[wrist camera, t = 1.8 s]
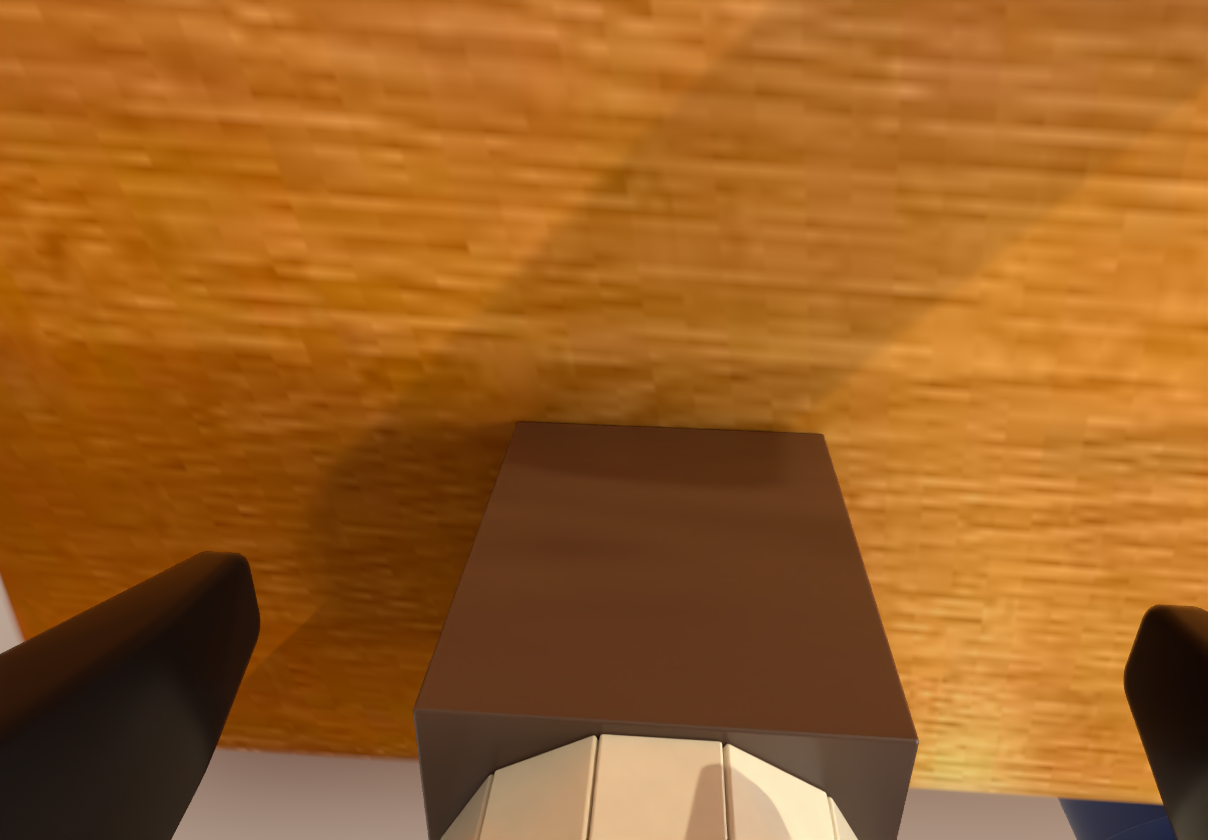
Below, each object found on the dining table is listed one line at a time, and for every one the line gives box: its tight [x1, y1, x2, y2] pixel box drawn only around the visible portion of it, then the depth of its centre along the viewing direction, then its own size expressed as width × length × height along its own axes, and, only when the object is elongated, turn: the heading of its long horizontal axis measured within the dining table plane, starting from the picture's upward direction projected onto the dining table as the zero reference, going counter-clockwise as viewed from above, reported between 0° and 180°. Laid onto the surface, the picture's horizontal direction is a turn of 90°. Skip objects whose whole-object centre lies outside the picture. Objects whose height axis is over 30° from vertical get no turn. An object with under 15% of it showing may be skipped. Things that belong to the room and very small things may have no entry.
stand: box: [413, 422, 919, 840], centre depth 18 cm, size 7×7×9 cm
